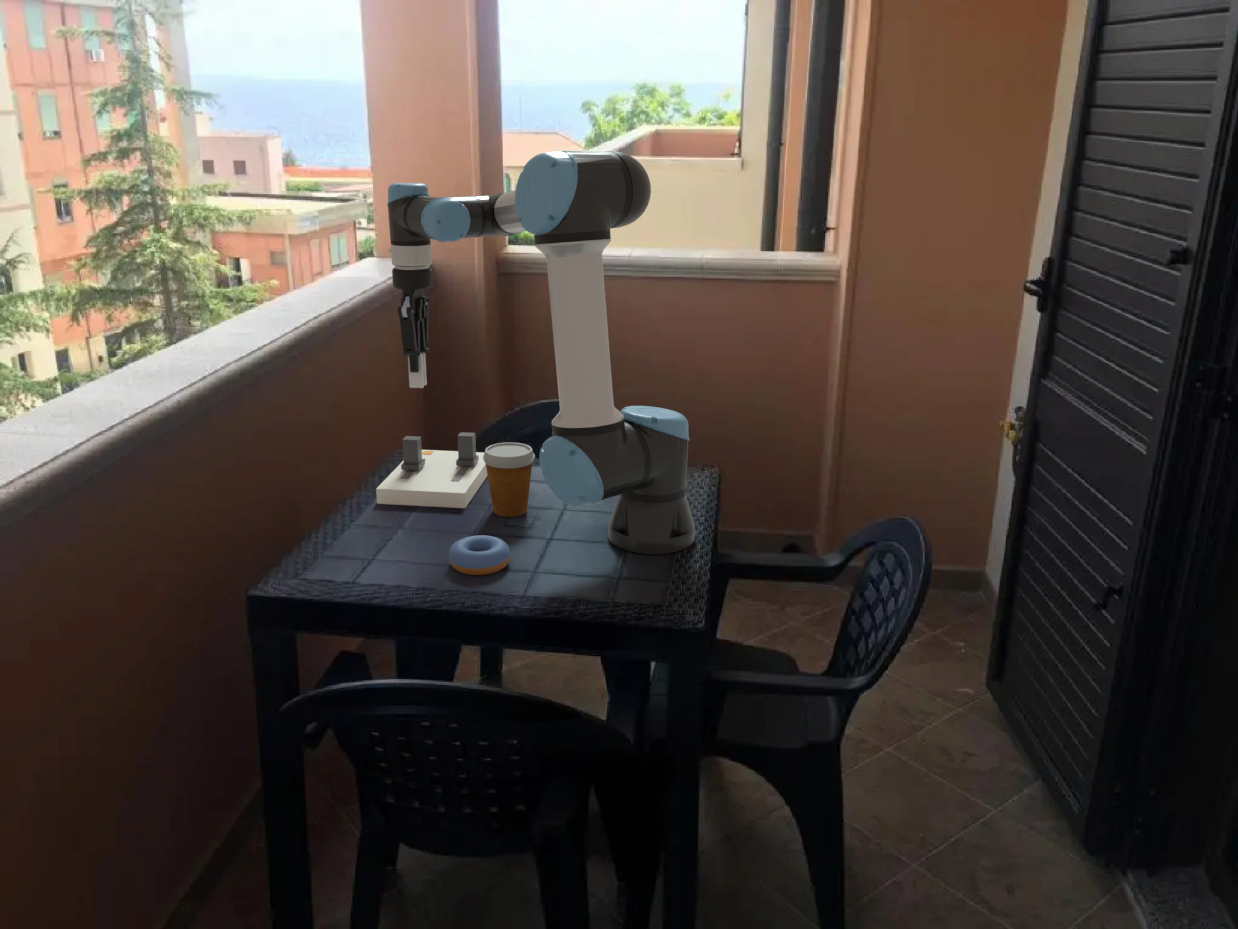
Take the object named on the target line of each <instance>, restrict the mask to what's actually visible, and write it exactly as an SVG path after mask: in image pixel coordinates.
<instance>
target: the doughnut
mask: <svg viewBox="0 0 1238 929" xmlns="http://www.w3.org/2000/svg"><path fill="white" fill-rule="evenodd" d="M510 552H511V551H510V547H509V544H508V543H506V541H504V540H503V539H502V538H499V537H497V536H496V537H495V536H492V535H484V534H482V535H480V534H479V535H471V536H470V535H469V536H466V537H464V538H463V537H462V538H459V540H457V541H455V542H454V543H453V544H452V545H451V546H450V548H449V550H448V559H449V564H450V565H451V566H452V568H453V569H454V570H455V571H457V572H459V573H460V574H465V575H468V576H471V575H472V576H485V575H490V574H494V573H498V572H500V571H501V570H503V569H505V568H506V566H507V565H508V563H509V562H510V560H511V553H510Z"/></svg>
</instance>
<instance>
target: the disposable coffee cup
mask: <svg viewBox="0 0 1238 929" xmlns="http://www.w3.org/2000/svg"><path fill="white" fill-rule="evenodd" d="M483 453H484V455H483V460H484V462H485V463H486V470H487V475H488V476H487V480H488V486H489V488H488V489H489V494H490V500H491V505H492V511H493V514H495V515H497V516H500V517H508V518H509V517H511V518H512V517H519V516H522V515H524V514H525V513H527V511H528V505H529V495H530V494H529V493H530V488H531V479H532V478H531V477H532V471H533V470H532V468H533V462H534V460H535V458H536V455H535V453H534V451H533V448H532V447H531V446H530V445H529V444H526V443H520V442H509V441H508V442H500V443H494V444H490V445H489V446H487V447H485V450H484V452H483Z"/></svg>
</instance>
